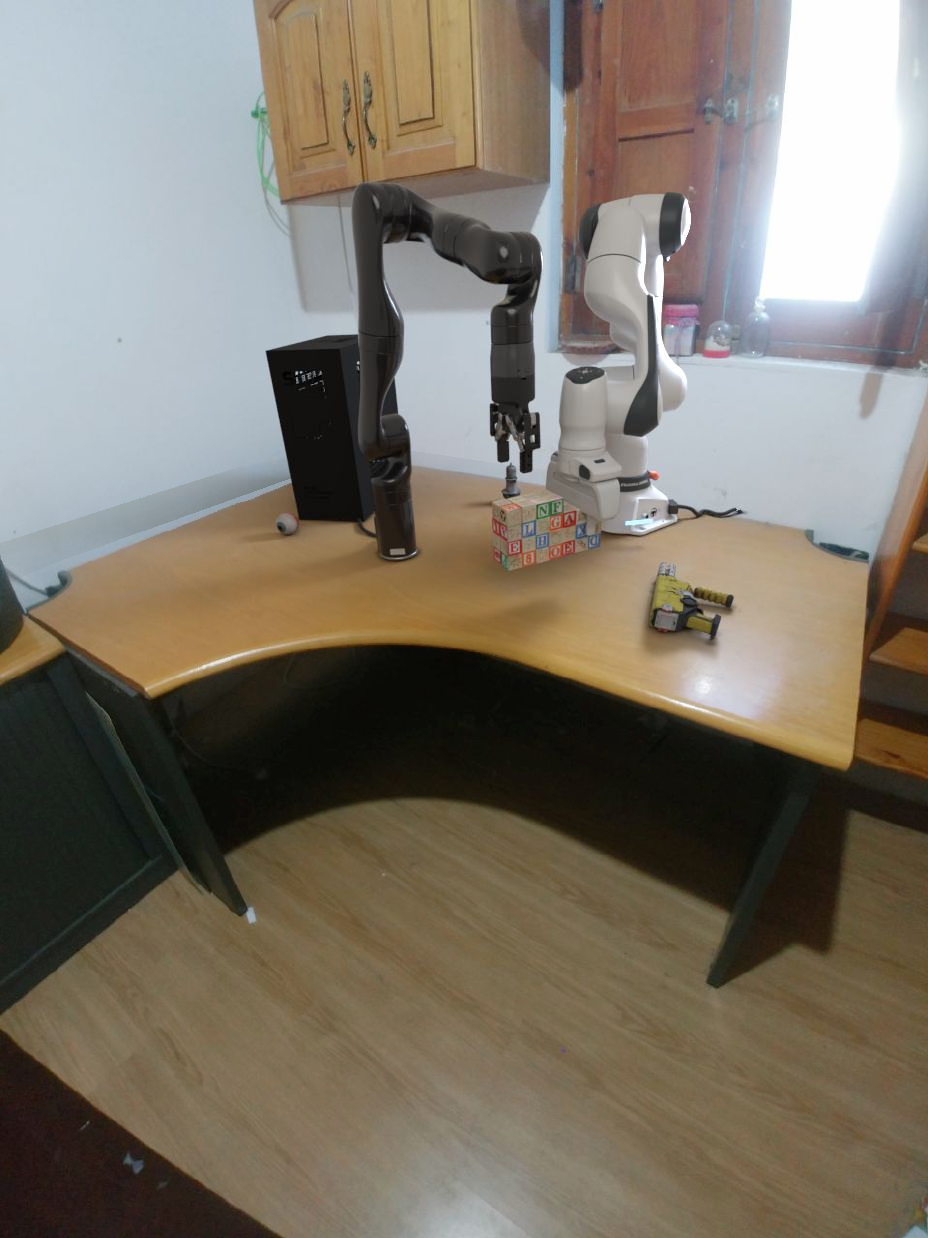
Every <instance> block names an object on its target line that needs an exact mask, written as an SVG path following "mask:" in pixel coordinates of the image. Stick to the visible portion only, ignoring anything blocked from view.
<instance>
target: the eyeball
mask: <svg viewBox="0 0 928 1238" xmlns="http://www.w3.org/2000/svg"><path fill="white" fill-rule="evenodd" d="M299 525H300V522H299V518H298V517H297V516H296V515H295V514H294V513H292V512H287V511H286V512H282V513H280V514H279V515H278V516H277V517H276V520H275V527H276V529H277V530H278V531H279V532H280V533H281V534H282V535H285V536H286V535H287V536H289V535H293V534H295V533H296V532H297V531H298V529H299Z"/></svg>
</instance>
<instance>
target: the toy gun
mask: <svg viewBox="0 0 928 1238" xmlns="http://www.w3.org/2000/svg"><path fill="white" fill-rule="evenodd" d="M658 566H659V567H658V571H657V575H656V578H655V583H654V588H653V594H652V600H651V606H650V611H649V612H650V614H649V618H648V623H649V625H650V626H651V627H653V628H657V631H659V632H661V631H662V632H664V633H667V632H668V631H672V632H677V631H678V632H679V631H682V630H684V629H685V628H689V629H693V630H696V631H700V632H703V633H705V634H707V635H710V640H715V638H716V636H717V634H718V630H719V627H720V623H721V621H722V620H721V619H722V615H720V614H718V613H716V614H715V615H714V617H710V616H708V615H705V614H704V613H705V612H704V610H703V609H702V608H700V607H699V604H698V603H699V602H698V600H699V599H701V600H703V601H708V603H714V604H715V605H719V604H720V605H721V606H724V607H726V608H731V607H732V605H733V602H734V599H735V596H734V595H733V594H728V593H722V592H721V591H718V592H717V591H716V590H715V589H714V590H710V589H708V588H703V587H702V586H697V587H695V588H694V589H693V587H692V585H691V584H690V583H689V582H686V581H682V580H679V579H677V578H675V577H676V568H677V565H676V564H675V563H671V562H670V563H669V565H667V562H665V561H662V562H660V563H659V565H658ZM667 567H668V568H667ZM697 599H698V600H697Z"/></svg>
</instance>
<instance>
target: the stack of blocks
mask: <svg viewBox="0 0 928 1238" xmlns="http://www.w3.org/2000/svg"><path fill="white" fill-rule="evenodd" d="M491 512H492V516H491V525H492V526H491V529H492V540H493V541H492V542H493V560H494V561H495V562H496V563H497V564H499V565H500V566H502V567H503V568H504V569H506V571H513V570H516V569H517V570H518V569H521V568H525V567H529V566H533V565H536V564H540V563H545V562H548V561H552V560H555V559H558V558H562V557H566V556H569V555H573V554H578V553H581V552H586V551H589V550H593V549H597V548H600V547H601V537H602V530H601V526H602V522H600V521H598V523H597V524H596V526H595V533H594V534H593V535H589V536H588V535H586V534H585V533H583V530H584V529H583V525H586V524H587V522H588V519H587V515H586V514H585V513H583V512H581V511H580V509H579V508H577V507H575V506H573V505H571V504H569V503H567V502H565V501H564V498H563V497H561V496H559V495H557V494H554V493H552V492H550V491H548V490H546V489H544V490H543V489H542V490H537V491H534V492H529V493H525V494H522V495H521V494H520V496H517V497H512V498H508V499H505V498H503V499H498V500H494V501H492V502H491Z"/></svg>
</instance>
